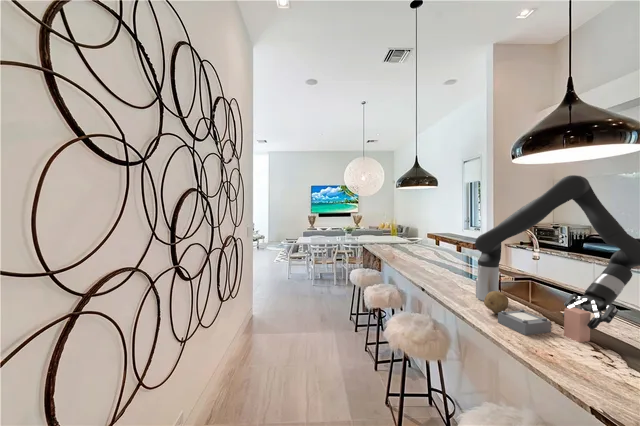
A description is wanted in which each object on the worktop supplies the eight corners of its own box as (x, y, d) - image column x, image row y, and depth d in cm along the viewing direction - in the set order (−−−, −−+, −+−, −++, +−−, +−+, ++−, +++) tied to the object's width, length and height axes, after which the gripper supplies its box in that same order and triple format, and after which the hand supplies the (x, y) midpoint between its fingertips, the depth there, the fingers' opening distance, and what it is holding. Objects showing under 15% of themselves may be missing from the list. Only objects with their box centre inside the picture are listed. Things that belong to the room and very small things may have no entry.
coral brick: (563, 335, 105) (564, 308, 104) (574, 334, 106) (574, 307, 106) (579, 342, 100) (579, 313, 99) (589, 340, 101) (590, 312, 101)
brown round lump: (490, 317, 122) (490, 294, 122) (480, 309, 131) (480, 288, 130) (512, 318, 121) (512, 294, 121) (500, 310, 130) (501, 288, 130)
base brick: (497, 322, 116) (497, 310, 116) (521, 319, 119) (521, 308, 119) (525, 335, 105) (525, 322, 105) (550, 332, 108) (551, 319, 108)
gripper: (578, 277, 111) (551, 308, 109) (622, 288, 97) (592, 323, 95) (589, 290, 112) (563, 321, 110) (634, 302, 97) (605, 338, 96)
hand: (576, 322), depth 103 cm, fingers open, 8 cm apart
